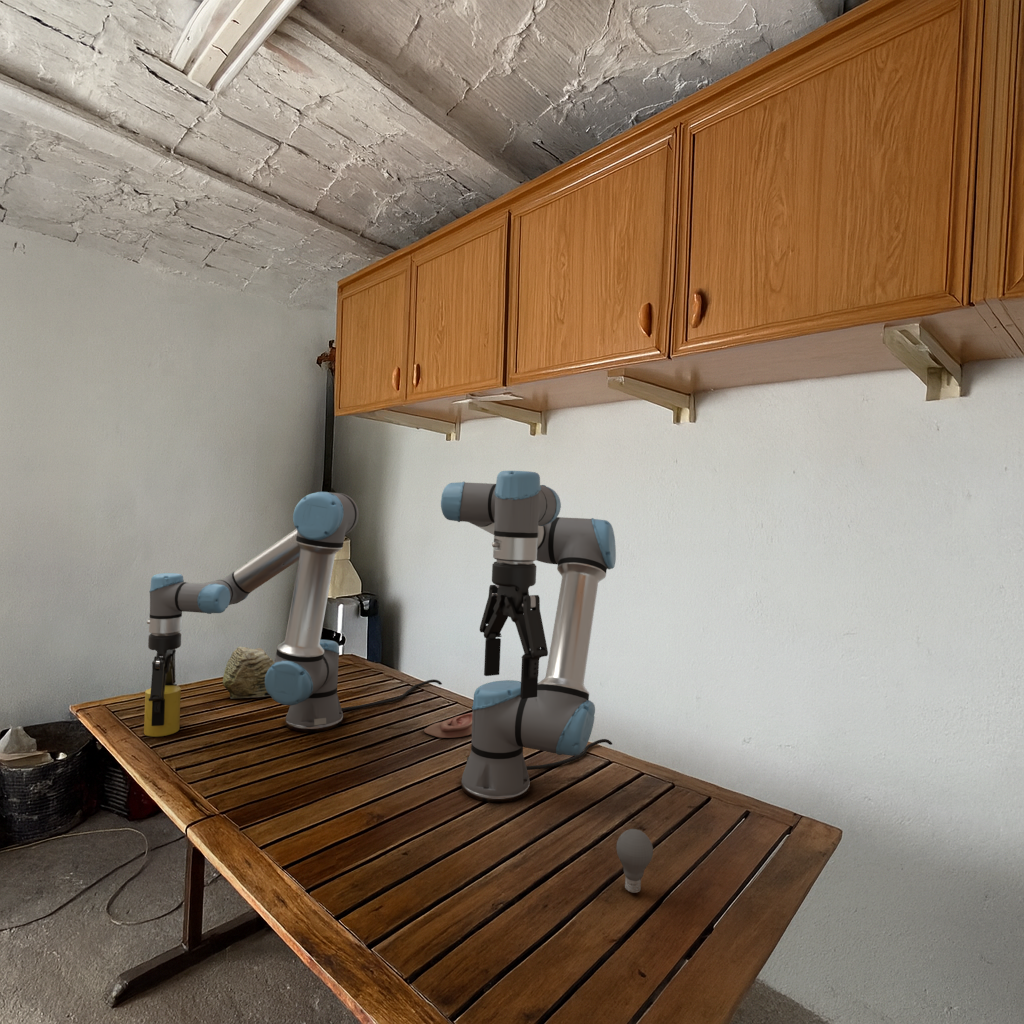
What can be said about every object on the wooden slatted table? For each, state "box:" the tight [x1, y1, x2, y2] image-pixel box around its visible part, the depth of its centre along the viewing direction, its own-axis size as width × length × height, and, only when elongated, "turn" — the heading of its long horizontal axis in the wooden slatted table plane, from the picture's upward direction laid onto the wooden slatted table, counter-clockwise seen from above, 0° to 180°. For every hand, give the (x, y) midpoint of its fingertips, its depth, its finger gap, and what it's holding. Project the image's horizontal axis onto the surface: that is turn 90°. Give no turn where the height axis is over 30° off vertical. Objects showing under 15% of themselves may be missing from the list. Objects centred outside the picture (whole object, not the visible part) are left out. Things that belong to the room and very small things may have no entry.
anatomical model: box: [423, 712, 472, 739], centre depth 174 cm, size 13×4×12 cm
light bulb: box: [615, 828, 654, 894], centre depth 106 cm, size 6×6×10 cm
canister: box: [143, 685, 182, 737], centre depth 166 cm, size 8×8×11 cm
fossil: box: [222, 646, 275, 699], centre depth 198 cm, size 9×18×15 cm, turn 132°
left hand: (162, 719), depth 166 cm, fingers closed on canister, 8 cm apart
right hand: (509, 685), depth 108 cm, fingers open, 13 cm apart
